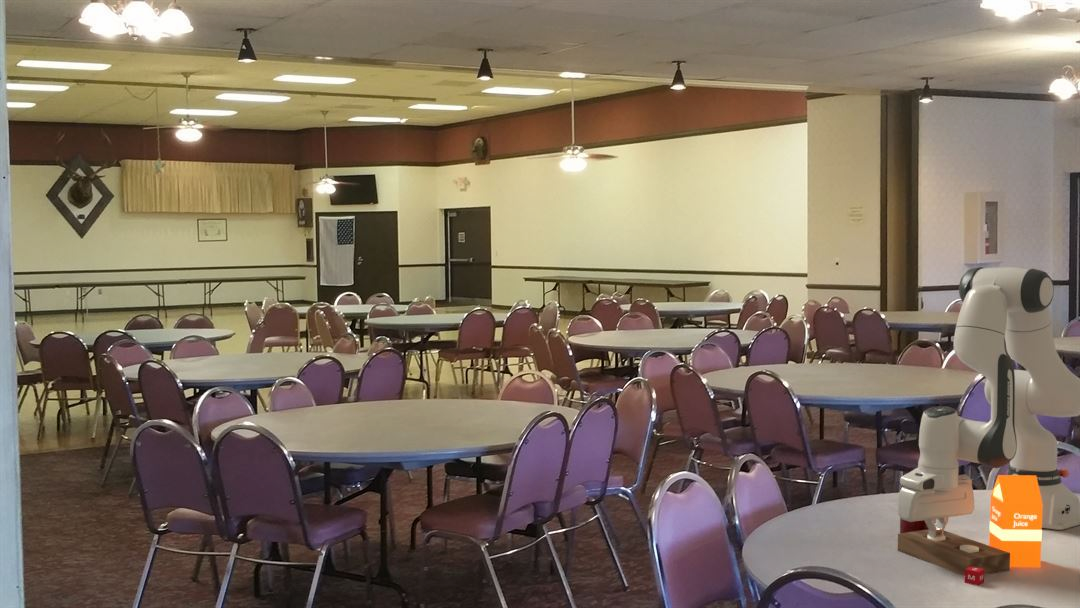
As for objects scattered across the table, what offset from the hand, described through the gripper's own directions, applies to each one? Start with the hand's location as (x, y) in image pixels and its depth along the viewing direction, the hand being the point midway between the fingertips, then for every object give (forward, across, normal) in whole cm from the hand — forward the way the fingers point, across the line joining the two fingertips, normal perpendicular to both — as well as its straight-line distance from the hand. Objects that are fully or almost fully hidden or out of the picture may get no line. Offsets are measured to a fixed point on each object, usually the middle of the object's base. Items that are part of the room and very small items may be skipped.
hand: (936, 536), depth 258 cm
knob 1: (+4, 0, 0) cm, 4 cm away
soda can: (+4, -5, -12) cm, 14 cm away
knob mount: (+4, 0, +5) cm, 7 cm away
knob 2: (+4, 0, +10) cm, 11 cm away
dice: (+5, +7, +19) cm, 21 cm away
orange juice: (+4, -12, +12) cm, 17 cm away
